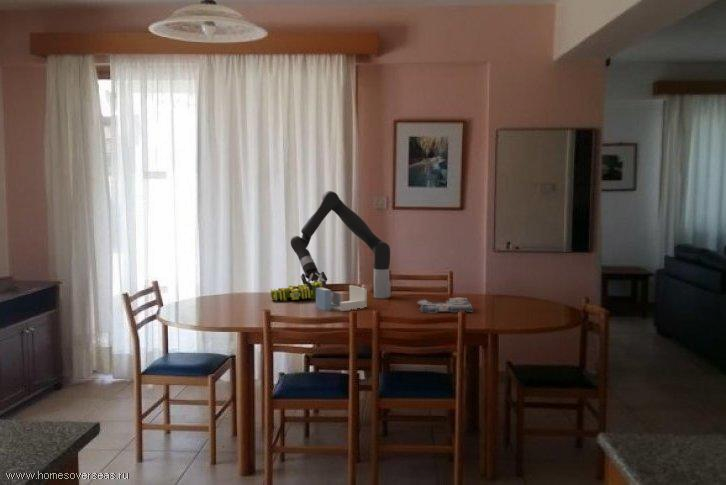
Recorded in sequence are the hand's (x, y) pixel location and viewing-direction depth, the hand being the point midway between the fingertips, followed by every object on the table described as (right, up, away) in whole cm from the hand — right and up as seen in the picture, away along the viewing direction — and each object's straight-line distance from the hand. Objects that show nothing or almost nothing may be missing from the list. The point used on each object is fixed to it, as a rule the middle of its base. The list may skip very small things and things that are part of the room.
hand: (318, 288), depth 339 cm
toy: (-14, -8, +23) cm, 29 cm away
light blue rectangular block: (+3, -11, -3) cm, 12 cm away
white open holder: (+15, -10, +1) cm, 19 cm away
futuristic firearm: (+68, -11, -6) cm, 69 cm away
